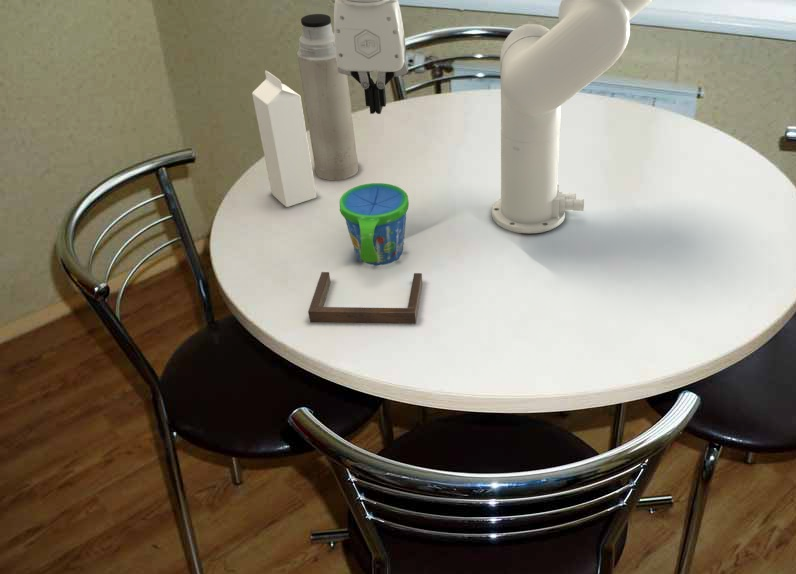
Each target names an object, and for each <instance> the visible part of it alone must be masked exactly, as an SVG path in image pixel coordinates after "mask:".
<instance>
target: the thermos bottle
mask: <svg viewBox="0 0 796 574" xmlns="http://www.w3.org/2000/svg"><path fill="white" fill-rule="evenodd" d="M300 22H301V25H302V35H301V36H300V37H299V39H298V42H299V44H298V47H299V49H298V51H297V54H296V55H297V56H296V57H297V63H298V68H299V75H300V81H301V82H300V83H301V88H302V94H303V100H304V106H305V113H306V118H307V125H308V133H309V137H310V144H311V151H312V157H313V163H314V169H315V174H316V175H317V177H319V178H320V179H323V180H326V181H327V180H328V181H340V180H341V181H342V180H346V179H349V178H351V177H354V176H355V175H356V174H357V173H358V171H359V158H358V154H357V153H358V152H357V146H356V136H355V128H354V120H353V114H352V104H351V103H352V102H351V95H350V87H349V80H348V79H349V78H348V75H344V74H341V73H339V72H338V70H337V69H338V65H337V61H336V53H335V37H334V31H333V26H332V24H331V23H332V17H331V16H330V15H328V14H324V13H314V14H313V13H312V14H308V15H304V16H302V17H301V19H300Z"/></svg>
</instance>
